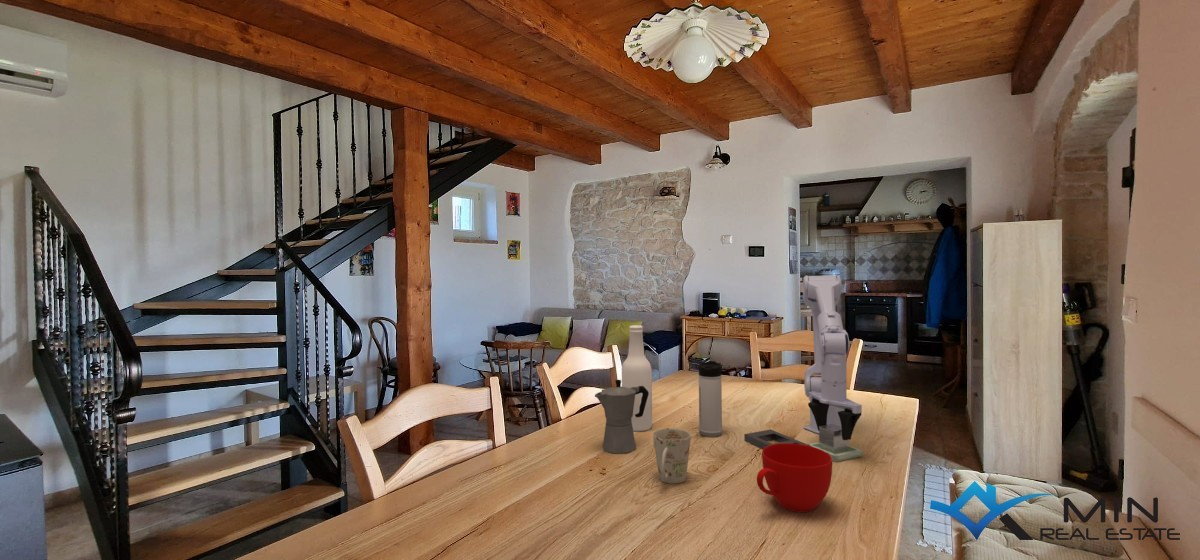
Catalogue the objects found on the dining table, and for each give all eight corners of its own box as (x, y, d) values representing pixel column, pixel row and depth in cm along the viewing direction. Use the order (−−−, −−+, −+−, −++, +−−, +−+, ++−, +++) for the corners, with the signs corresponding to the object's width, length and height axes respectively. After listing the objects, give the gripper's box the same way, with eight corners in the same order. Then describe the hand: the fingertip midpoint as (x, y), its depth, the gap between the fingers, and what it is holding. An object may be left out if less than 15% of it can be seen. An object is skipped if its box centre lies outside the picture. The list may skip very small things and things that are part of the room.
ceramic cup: (734, 504, 102) (733, 454, 102) (792, 485, 111) (792, 439, 110) (786, 533, 91) (786, 477, 91) (847, 509, 99) (847, 458, 99)
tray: (832, 444, 134) (832, 439, 134) (862, 456, 126) (862, 450, 126) (806, 450, 131) (806, 444, 131) (835, 462, 123) (835, 456, 122)
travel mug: (724, 431, 147) (723, 361, 146) (719, 438, 141) (718, 365, 140) (702, 428, 149) (701, 360, 149) (696, 435, 143) (696, 364, 143)
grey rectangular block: (832, 447, 131) (832, 423, 131) (847, 453, 127) (847, 429, 127) (819, 450, 129) (819, 426, 129) (833, 455, 125) (833, 431, 125)
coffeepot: (603, 458, 128) (602, 386, 127) (589, 446, 137) (588, 378, 136) (657, 448, 134) (656, 379, 133) (640, 437, 143) (639, 373, 142)
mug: (693, 473, 118) (693, 429, 117) (684, 496, 106) (683, 448, 106) (658, 468, 120) (657, 426, 120) (645, 491, 109) (644, 444, 108)
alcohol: (616, 428, 151) (614, 326, 150) (634, 421, 158) (632, 323, 157) (640, 434, 145) (639, 328, 144) (658, 426, 152) (656, 325, 151)
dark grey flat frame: (744, 440, 138) (744, 434, 138) (770, 435, 142) (770, 429, 142) (800, 467, 120) (800, 459, 120) (828, 460, 124) (828, 453, 124)
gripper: (799, 376, 133) (799, 428, 133) (846, 388, 120) (846, 446, 120) (820, 373, 136) (820, 424, 136) (868, 385, 122) (868, 441, 123)
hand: (834, 434), depth 128 cm, fingers open, 7 cm apart
